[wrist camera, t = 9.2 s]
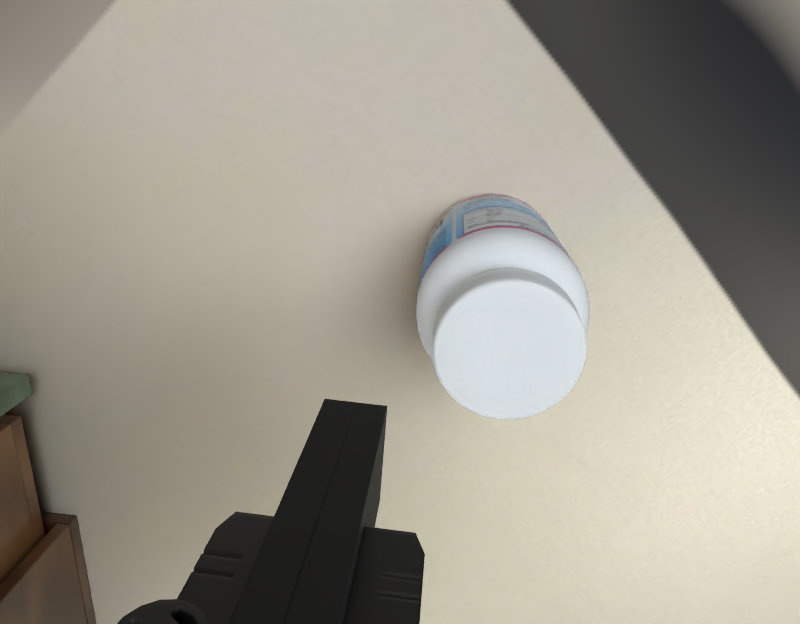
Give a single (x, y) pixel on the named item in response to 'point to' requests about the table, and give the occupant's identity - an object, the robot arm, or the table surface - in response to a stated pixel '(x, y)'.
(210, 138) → the table surface
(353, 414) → the robot arm
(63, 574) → the cabinet
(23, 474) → the drawer
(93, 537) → the table surface
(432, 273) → the pill bottle
